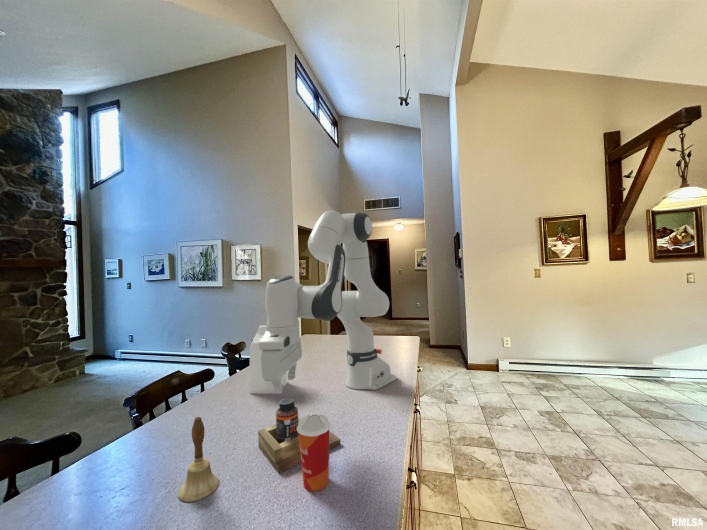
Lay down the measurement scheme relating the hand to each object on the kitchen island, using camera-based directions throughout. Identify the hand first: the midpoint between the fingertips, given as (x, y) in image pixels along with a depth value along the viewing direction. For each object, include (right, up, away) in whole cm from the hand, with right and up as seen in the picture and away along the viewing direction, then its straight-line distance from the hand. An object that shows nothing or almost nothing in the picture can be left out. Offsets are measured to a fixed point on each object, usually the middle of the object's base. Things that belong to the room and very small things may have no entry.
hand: (285, 385), depth 83 cm
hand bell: (-16, -18, -14) cm, 28 cm away
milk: (-17, -19, +44) cm, 50 cm away
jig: (+4, -17, +1) cm, 17 cm away
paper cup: (+10, -17, -14) cm, 24 cm away
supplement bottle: (+1, -16, 0) cm, 16 cm away
